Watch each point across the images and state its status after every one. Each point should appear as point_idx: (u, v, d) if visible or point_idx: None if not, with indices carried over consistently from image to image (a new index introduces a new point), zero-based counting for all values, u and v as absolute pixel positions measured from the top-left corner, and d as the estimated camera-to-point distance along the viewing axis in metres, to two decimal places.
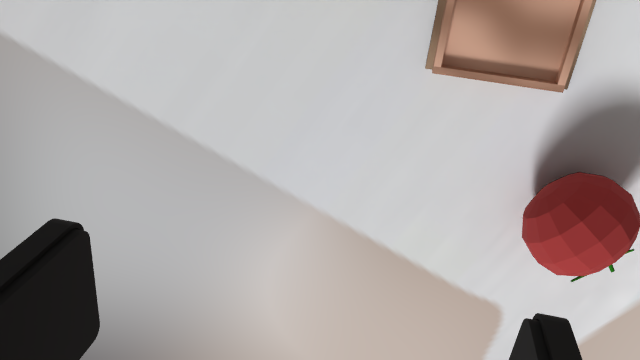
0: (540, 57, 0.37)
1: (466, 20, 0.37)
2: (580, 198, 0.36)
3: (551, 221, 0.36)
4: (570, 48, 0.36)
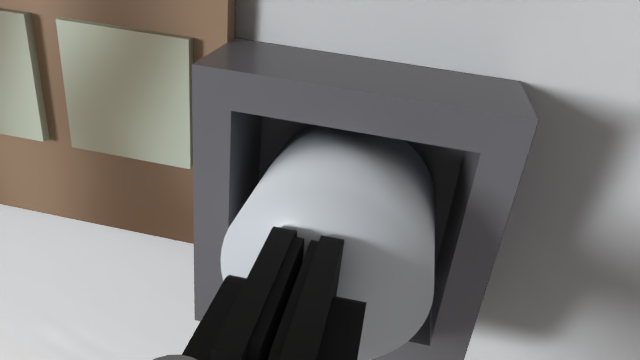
0: None
1: None
2: None
3: None
4: None
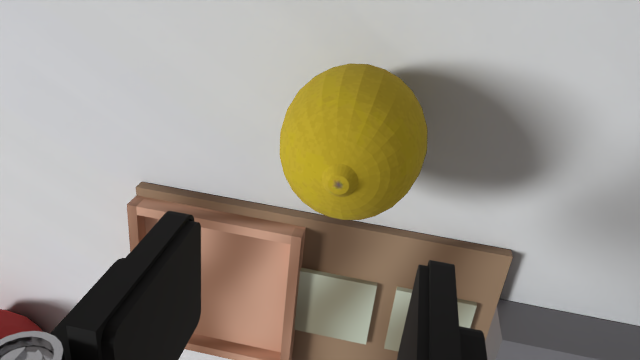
0: None
1: (203, 236, 0.28)
2: None
3: None
4: None
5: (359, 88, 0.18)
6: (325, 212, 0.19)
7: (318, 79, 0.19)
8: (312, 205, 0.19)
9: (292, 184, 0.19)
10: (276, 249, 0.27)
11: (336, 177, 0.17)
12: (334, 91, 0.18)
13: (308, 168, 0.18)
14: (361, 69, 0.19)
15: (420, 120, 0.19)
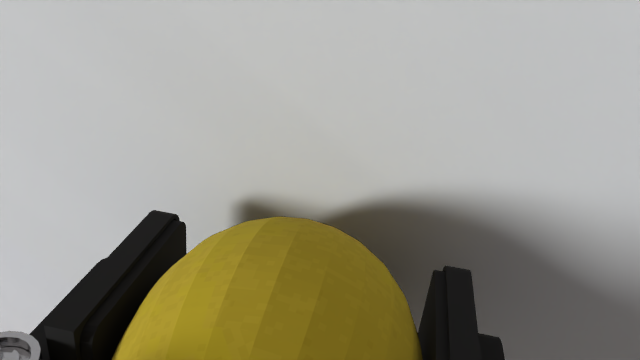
0: None
1: None
2: None
3: None
4: None
5: (256, 339, 0.07)
6: None
7: (181, 280, 0.09)
8: None
9: None
10: None
11: None
12: (195, 347, 0.07)
13: None
14: (275, 261, 0.09)
15: None
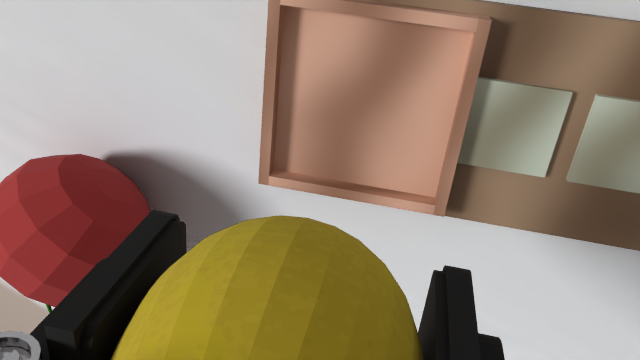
0: (304, 147, 0.26)
1: (356, 38, 0.23)
2: (105, 240, 0.24)
3: (58, 210, 0.23)
4: (319, 186, 0.26)
5: (256, 337, 0.07)
6: None
7: (181, 279, 0.09)
8: None
9: None
10: (448, 50, 0.22)
11: None
12: (195, 347, 0.07)
13: None
14: (275, 260, 0.09)
15: None
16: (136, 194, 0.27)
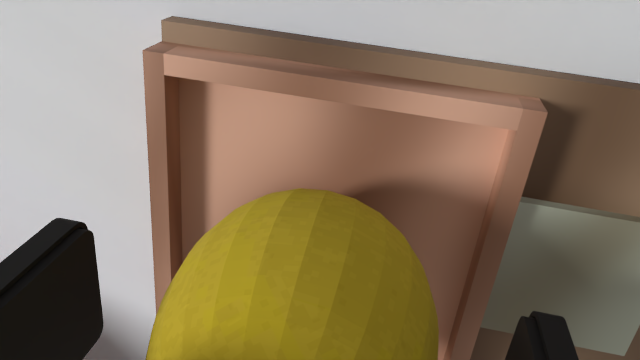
0: None
1: (304, 129, 0.13)
2: None
3: None
4: None
5: (296, 284, 0.08)
6: None
7: (221, 240, 0.10)
8: None
9: None
10: (464, 153, 0.13)
11: None
12: (242, 292, 0.08)
13: None
14: (307, 221, 0.09)
15: (427, 327, 0.09)
16: None
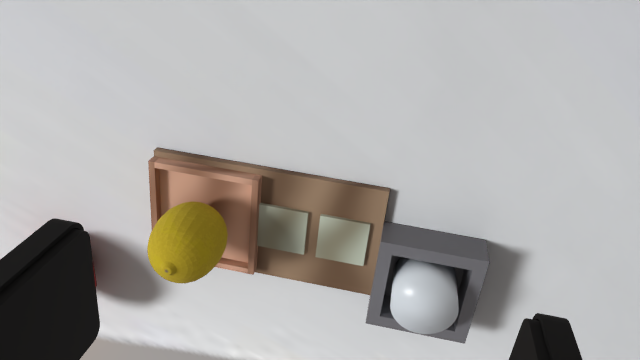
0: None
1: (197, 182, 0.43)
2: None
3: None
4: None
5: (180, 223, 0.38)
6: (168, 280, 0.39)
7: (167, 214, 0.40)
8: (161, 276, 0.39)
9: (152, 266, 0.39)
10: (244, 190, 0.43)
11: (165, 267, 0.37)
12: (169, 225, 0.38)
13: (155, 261, 0.38)
14: (187, 210, 0.39)
15: (214, 236, 0.39)
16: None
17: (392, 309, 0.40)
